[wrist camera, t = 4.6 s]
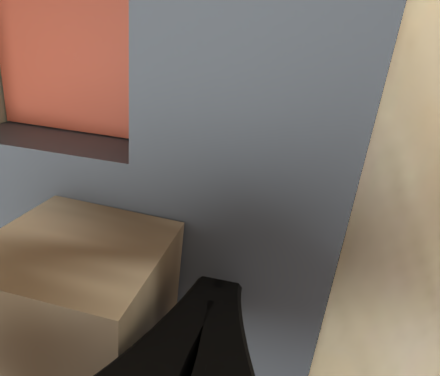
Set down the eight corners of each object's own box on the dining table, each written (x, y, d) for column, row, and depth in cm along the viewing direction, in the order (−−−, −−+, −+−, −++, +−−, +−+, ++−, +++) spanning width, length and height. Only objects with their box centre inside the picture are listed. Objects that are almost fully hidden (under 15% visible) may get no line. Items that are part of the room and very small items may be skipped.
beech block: (184, 222, 10) (118, 321, 6) (174, 331, 12) (116, 461, 8) (55, 195, 11) (-72, 271, 7) (61, 302, 12) (-41, 410, 9)
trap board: (384, -11, 9) (443, -47, 6) (280, 423, 16) (277, 536, 12) (-186, -57, 12) (-399, -103, 8) (-75, 337, 18) (-166, 410, 15)
